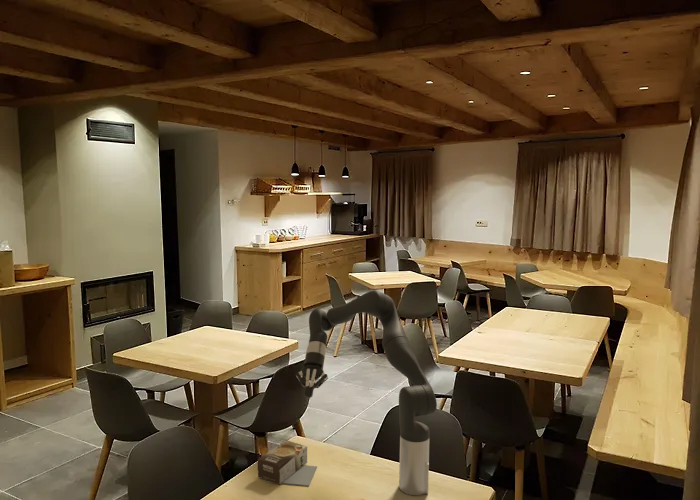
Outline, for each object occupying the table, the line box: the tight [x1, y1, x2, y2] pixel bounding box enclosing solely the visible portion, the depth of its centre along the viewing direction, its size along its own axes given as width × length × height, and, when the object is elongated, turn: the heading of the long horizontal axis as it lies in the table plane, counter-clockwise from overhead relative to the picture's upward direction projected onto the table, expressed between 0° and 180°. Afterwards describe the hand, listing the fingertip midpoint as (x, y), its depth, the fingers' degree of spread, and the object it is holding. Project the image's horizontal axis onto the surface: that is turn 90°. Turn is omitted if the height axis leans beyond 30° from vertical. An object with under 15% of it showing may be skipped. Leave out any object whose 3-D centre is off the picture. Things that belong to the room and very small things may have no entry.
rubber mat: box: [266, 464, 318, 487], centre depth 174 cm, size 14×12×1 cm
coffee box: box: [257, 439, 308, 485], centre depth 175 cm, size 9×6×16 cm
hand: (307, 397), depth 194 cm, fingers closed
